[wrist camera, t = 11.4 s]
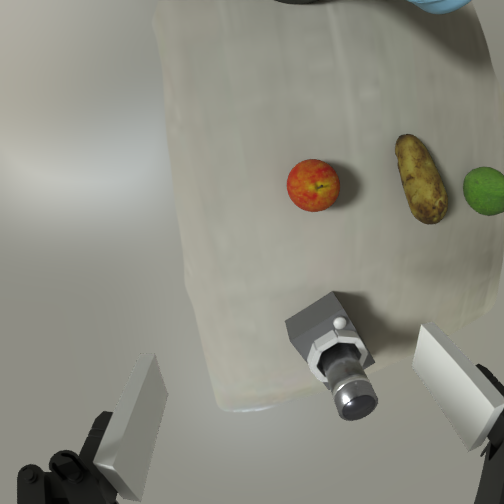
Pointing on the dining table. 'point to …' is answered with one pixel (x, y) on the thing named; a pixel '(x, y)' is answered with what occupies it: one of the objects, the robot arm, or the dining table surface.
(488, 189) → the fruit
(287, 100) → the dining table surface
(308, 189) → the fruit
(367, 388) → the lens
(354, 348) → the grey block
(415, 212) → the potato
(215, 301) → the dining table surface
